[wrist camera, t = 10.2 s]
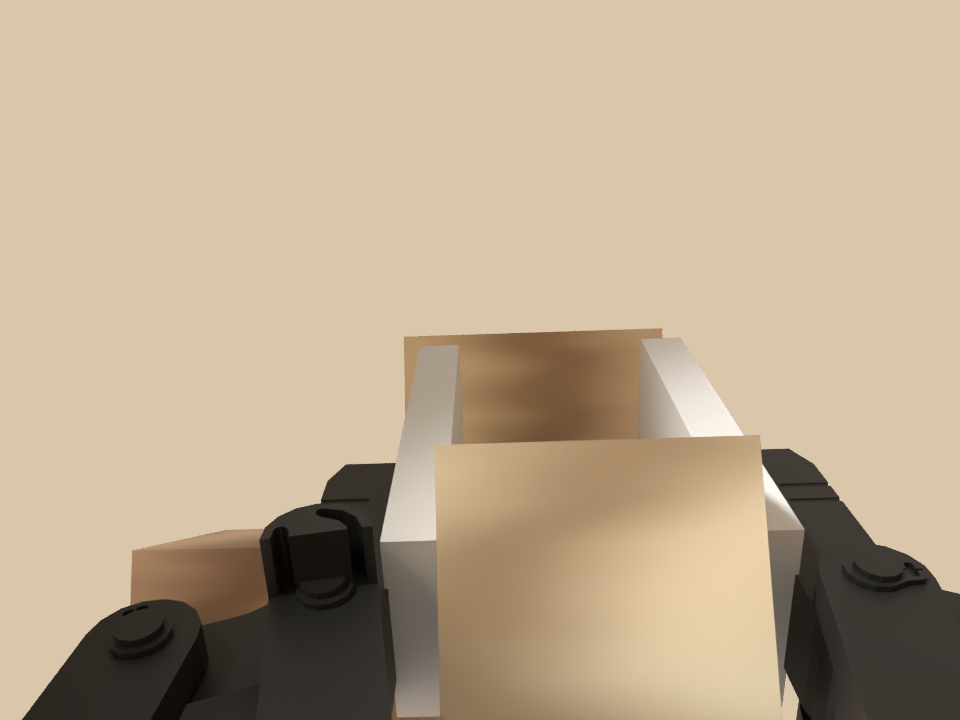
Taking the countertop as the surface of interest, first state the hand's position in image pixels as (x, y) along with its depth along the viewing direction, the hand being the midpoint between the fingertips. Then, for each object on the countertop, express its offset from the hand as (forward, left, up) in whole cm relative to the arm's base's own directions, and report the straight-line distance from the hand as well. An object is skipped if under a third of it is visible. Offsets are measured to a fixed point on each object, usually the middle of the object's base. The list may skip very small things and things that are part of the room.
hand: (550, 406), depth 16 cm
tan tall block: (0, +2, -4) cm, 5 cm away
